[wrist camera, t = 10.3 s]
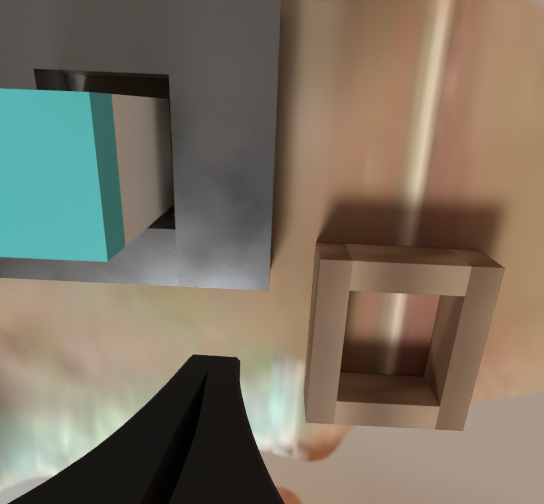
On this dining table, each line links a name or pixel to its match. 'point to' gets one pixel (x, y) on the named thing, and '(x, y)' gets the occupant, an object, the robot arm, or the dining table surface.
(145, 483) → the robot arm
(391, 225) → the dining table surface
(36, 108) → the plug
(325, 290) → the frame
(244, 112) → the port
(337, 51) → the dining table surface
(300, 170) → the dining table surface
